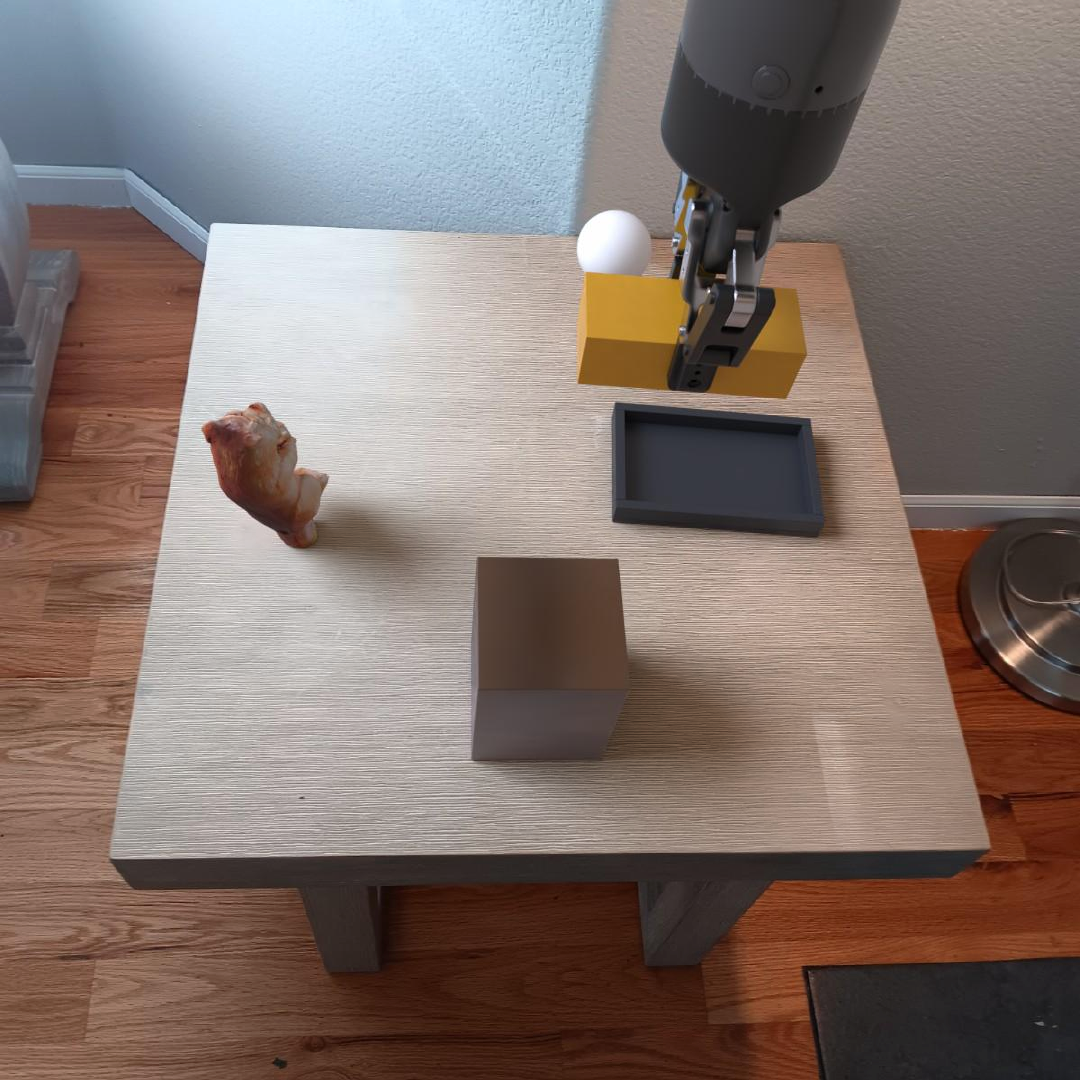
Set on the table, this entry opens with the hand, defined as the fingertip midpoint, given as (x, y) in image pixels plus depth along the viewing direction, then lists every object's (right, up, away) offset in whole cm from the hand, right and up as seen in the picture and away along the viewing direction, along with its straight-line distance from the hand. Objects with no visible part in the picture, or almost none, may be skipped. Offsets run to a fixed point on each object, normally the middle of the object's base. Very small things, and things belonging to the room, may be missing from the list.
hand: (684, 347), depth 53 cm
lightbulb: (-2, +10, +39) cm, 41 cm away
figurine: (-27, -9, +24) cm, 38 cm away
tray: (+7, -5, +30) cm, 32 cm away
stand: (-8, -21, +19) cm, 29 cm away
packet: (0, 0, +1) cm, 1 cm away
